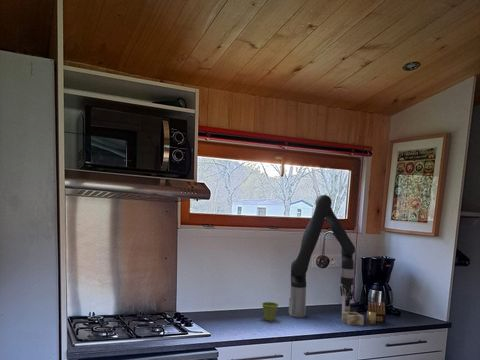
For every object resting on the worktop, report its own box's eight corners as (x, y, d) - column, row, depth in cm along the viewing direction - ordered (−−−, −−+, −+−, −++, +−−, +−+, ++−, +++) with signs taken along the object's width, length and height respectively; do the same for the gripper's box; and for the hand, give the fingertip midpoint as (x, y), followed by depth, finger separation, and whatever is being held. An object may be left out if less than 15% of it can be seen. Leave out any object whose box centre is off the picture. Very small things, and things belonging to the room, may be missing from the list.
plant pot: (280, 321, 212) (281, 305, 213) (266, 322, 208) (267, 306, 209) (272, 316, 221) (272, 301, 222) (258, 317, 217) (258, 302, 217)
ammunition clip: (384, 322, 221) (384, 301, 222) (385, 323, 219) (386, 302, 220) (366, 322, 220) (367, 301, 221) (368, 322, 218) (368, 301, 219)
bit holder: (348, 325, 211) (349, 316, 212) (341, 320, 220) (341, 311, 220) (363, 325, 213) (363, 316, 213) (355, 320, 222) (356, 311, 222)
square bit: (344, 316, 222) (345, 296, 223) (341, 315, 226) (342, 294, 227) (349, 316, 223) (350, 296, 224) (346, 315, 226) (347, 294, 227)
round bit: (369, 325, 212) (369, 313, 213) (364, 323, 217) (365, 310, 218) (377, 325, 213) (377, 313, 214) (372, 323, 218) (373, 310, 219)
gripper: (336, 273, 232) (335, 302, 231) (346, 278, 219) (345, 308, 217) (347, 274, 234) (346, 302, 232) (358, 278, 220) (357, 308, 219)
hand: (346, 305), depth 225 cm, fingers closed on square bit, 3 cm apart
